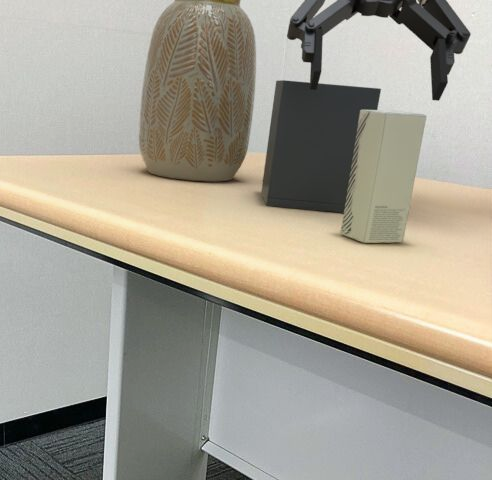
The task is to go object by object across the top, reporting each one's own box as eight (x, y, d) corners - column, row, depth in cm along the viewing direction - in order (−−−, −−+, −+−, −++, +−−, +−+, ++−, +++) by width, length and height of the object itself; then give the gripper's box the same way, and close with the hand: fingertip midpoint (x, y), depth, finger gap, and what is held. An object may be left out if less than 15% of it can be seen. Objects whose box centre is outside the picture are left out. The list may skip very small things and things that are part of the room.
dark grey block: (358, 214, 94) (381, 88, 89) (266, 205, 95) (283, 80, 90) (344, 200, 105) (363, 88, 100) (261, 193, 106) (276, 80, 101)
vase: (262, 179, 121) (287, -4, 112) (211, 187, 107) (234, -21, 98) (171, 165, 129) (187, -6, 120) (114, 171, 116) (126, -22, 107)
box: (378, 235, 81) (401, 111, 77) (404, 244, 77) (430, 114, 73) (336, 234, 80) (358, 107, 75) (361, 244, 76) (385, 110, 71)
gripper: (468, -10, 94) (479, 120, 86) (269, -26, 96) (259, 100, 87) (493, -65, 88) (507, 69, 79) (278, -81, 89) (269, 49, 80)
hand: (377, 86), depth 83 cm, fingers open, 13 cm apart
